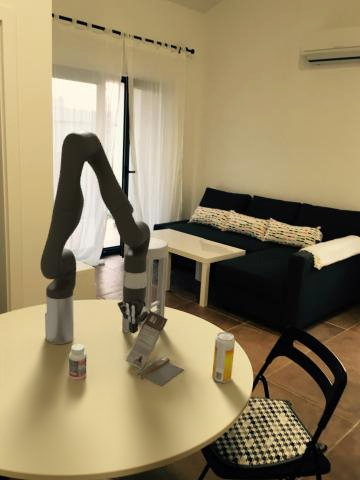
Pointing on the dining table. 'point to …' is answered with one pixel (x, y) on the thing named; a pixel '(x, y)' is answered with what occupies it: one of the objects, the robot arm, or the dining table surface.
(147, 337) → the coffee box
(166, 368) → the mat
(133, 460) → the dining table surface
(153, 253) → the stool
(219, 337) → the beer can
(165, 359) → the kerb
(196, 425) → the dining table surface
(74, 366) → the pill bottle
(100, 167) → the robot arm
